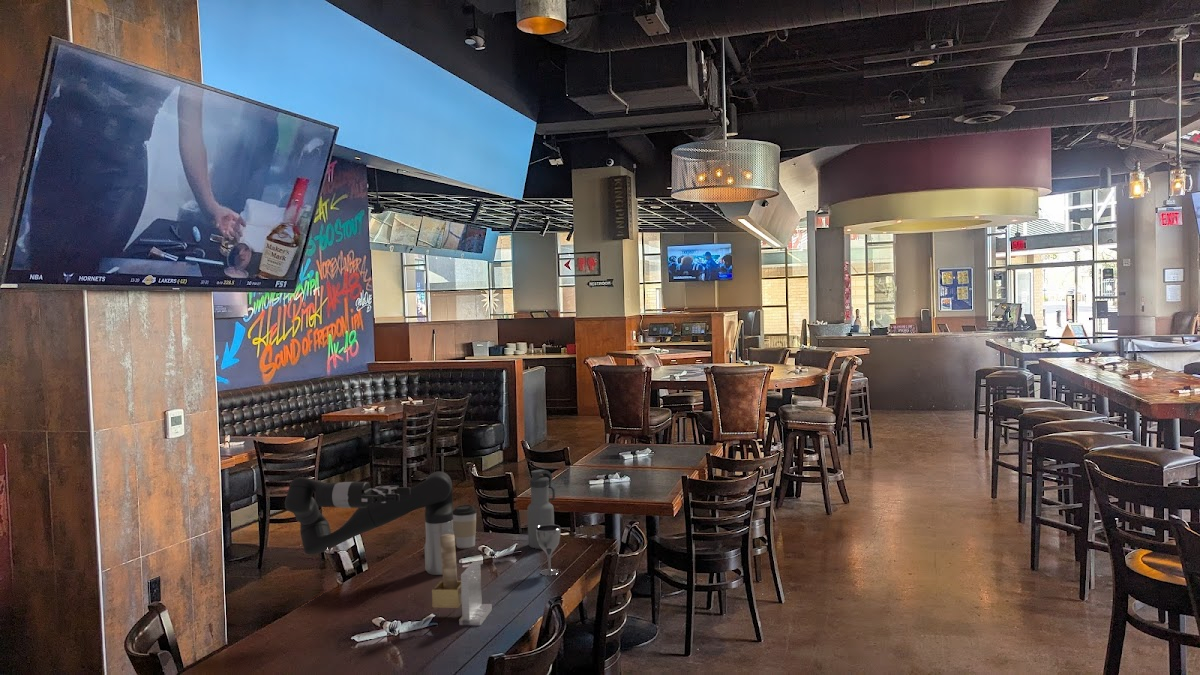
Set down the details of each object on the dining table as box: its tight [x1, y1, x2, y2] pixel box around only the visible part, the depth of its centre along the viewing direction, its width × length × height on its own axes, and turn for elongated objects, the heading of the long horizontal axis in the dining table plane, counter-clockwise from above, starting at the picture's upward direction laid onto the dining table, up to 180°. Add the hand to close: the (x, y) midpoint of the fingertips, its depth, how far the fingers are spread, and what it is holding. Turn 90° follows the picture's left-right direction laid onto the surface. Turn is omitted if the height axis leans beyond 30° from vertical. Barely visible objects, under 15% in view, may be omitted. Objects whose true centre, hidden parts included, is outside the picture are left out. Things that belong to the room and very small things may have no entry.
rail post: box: [440, 533, 458, 589], centre depth 220 cm, size 4×4×18 cm
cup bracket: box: [431, 560, 493, 626], centre depth 219 cm, size 14×12×14 cm
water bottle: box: [526, 469, 556, 550], centre depth 286 cm, size 10×10×28 cm
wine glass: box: [536, 524, 561, 577], centre depth 255 cm, size 8×8×15 cm
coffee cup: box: [453, 504, 478, 549], centre depth 290 cm, size 9×9×15 cm
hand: (404, 494), depth 225 cm, fingers open, 8 cm apart
